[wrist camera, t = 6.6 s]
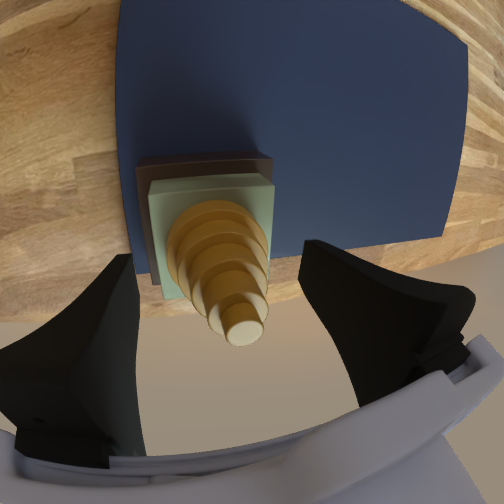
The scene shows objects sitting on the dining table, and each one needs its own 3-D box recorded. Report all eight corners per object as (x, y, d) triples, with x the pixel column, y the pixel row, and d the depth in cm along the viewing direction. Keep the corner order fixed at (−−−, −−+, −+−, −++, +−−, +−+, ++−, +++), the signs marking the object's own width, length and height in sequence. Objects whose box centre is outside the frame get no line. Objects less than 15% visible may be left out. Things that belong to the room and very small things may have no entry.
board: (137, 267, 19) (136, 274, 18) (131, -40, 8) (130, -46, 7) (435, 232, 26) (441, 236, 25) (460, 45, 15) (467, 45, 14)
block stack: (153, 262, 18) (152, 313, 14) (140, 158, 14) (128, 179, 10) (254, 251, 19) (279, 295, 15) (258, 150, 16) (292, 168, 12)
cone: (214, 298, 14) (241, 389, 10) (146, 250, 12) (140, 345, 7) (278, 240, 13) (335, 317, 9) (215, 178, 11) (252, 240, 6)
